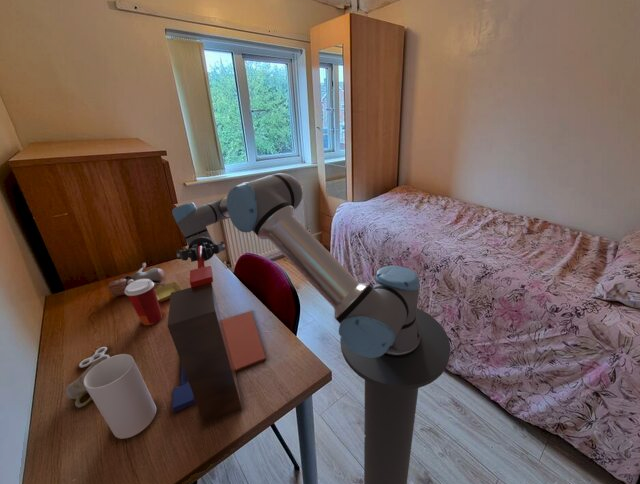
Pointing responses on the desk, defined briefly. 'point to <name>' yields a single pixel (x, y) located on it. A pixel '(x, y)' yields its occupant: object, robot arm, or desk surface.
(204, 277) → the red spatula
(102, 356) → the fidget spinner
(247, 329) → the mat
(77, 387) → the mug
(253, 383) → the desk surface
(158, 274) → the anime character
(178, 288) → the yellow square tray
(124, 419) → the cup
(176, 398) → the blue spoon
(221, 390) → the stand
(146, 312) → the paper cup
